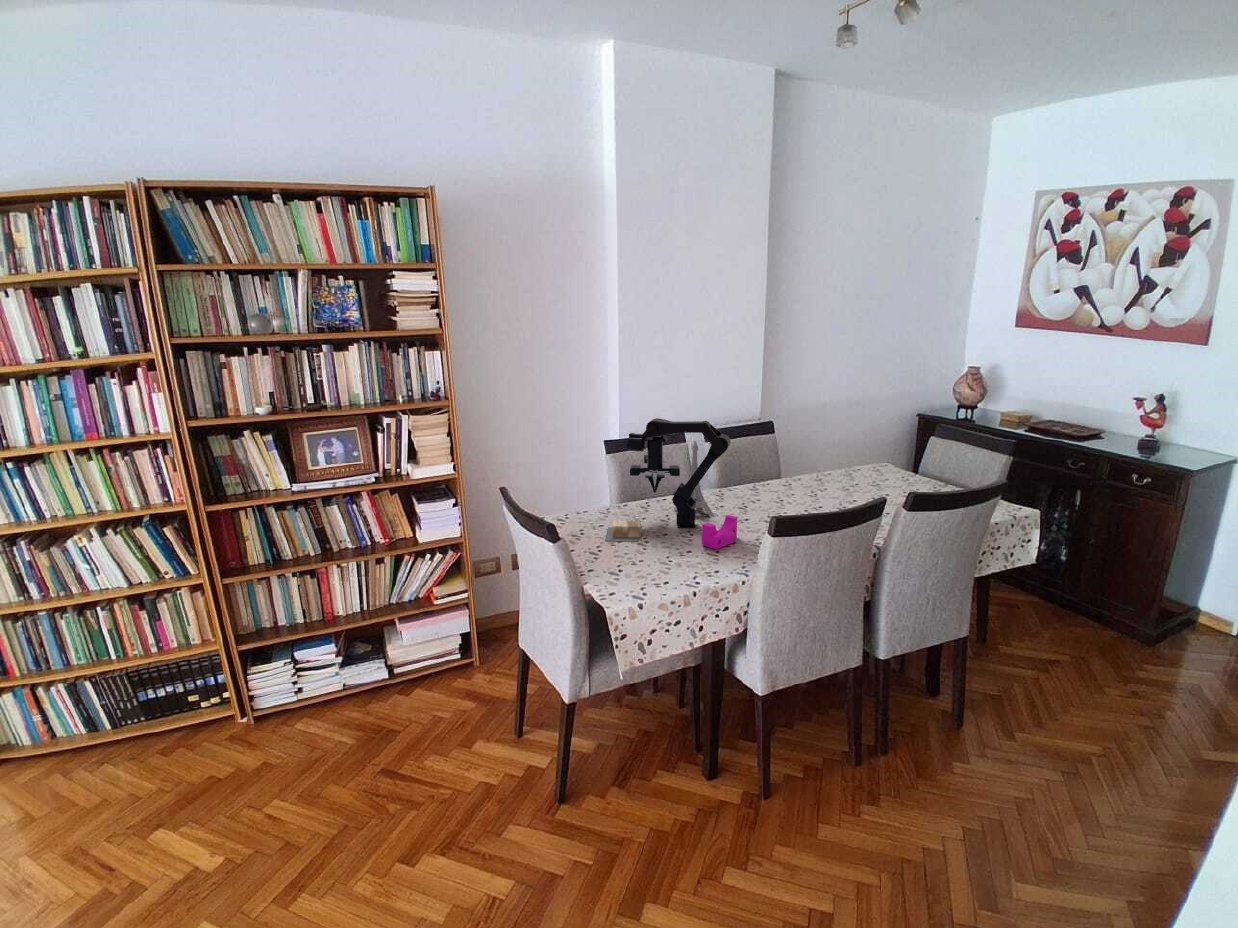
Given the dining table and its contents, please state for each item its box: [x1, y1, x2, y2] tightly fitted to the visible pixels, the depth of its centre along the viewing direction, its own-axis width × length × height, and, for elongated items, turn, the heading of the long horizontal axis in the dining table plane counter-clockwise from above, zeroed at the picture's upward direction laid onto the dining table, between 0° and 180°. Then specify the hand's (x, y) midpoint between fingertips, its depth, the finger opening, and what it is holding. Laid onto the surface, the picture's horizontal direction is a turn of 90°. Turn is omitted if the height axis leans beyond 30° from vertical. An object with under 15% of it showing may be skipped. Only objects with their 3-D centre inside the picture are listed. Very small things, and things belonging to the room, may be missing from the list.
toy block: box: [701, 514, 738, 550], centre depth 225 cm, size 15×6×8 cm, turn 133°
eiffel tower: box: [672, 440, 716, 518], centre depth 251 cm, size 13×13×30 cm
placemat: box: [604, 526, 640, 543], centre depth 233 cm, size 12×14×1 cm
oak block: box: [612, 520, 642, 538], centre depth 233 cm, size 4×6×10 cm
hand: (654, 492), depth 243 cm, fingers closed
